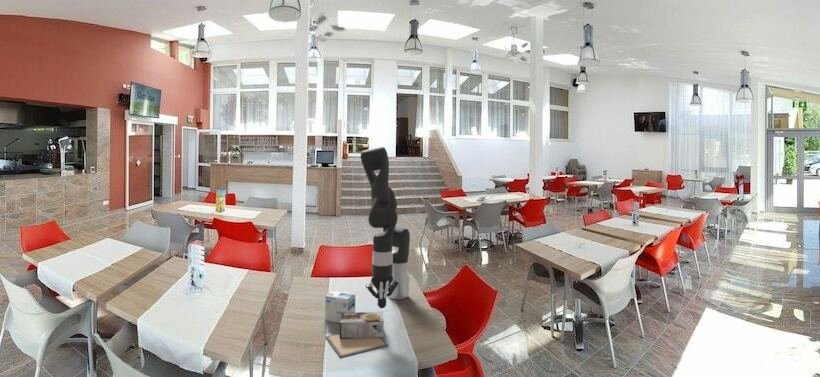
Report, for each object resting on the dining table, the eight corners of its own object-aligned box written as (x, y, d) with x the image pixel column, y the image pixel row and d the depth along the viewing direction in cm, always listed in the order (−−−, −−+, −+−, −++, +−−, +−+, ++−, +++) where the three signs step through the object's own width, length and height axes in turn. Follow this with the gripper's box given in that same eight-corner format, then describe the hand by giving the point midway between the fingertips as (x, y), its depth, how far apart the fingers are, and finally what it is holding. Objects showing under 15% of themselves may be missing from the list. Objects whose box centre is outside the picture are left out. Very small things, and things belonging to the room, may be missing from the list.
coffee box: (382, 327, 153) (341, 328, 152) (383, 311, 153) (341, 312, 151) (383, 338, 144) (339, 339, 143) (383, 321, 144) (339, 322, 142)
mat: (370, 327, 153) (370, 326, 153) (388, 345, 140) (388, 344, 140) (325, 337, 145) (325, 336, 145) (339, 357, 131) (339, 356, 131)
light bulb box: (355, 318, 162) (356, 293, 161) (348, 325, 155) (348, 299, 154) (333, 314, 165) (333, 289, 164) (324, 321, 159) (324, 295, 158)
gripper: (393, 257, 151) (393, 301, 152) (361, 261, 144) (361, 307, 146) (403, 262, 144) (402, 308, 146) (370, 267, 138) (369, 314, 140)
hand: (381, 307), depth 146 cm, fingers closed
